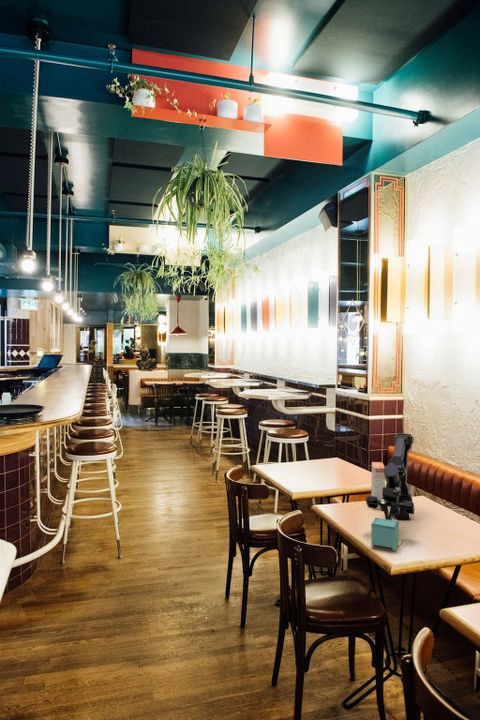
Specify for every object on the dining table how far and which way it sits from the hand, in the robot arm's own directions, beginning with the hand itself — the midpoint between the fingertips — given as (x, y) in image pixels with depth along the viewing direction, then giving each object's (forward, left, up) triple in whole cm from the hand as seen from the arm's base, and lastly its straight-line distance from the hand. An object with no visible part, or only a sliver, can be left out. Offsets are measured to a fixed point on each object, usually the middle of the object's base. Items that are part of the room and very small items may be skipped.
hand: (387, 523), depth 197 cm
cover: (+2, +4, -7) cm, 8 cm away
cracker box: (-10, -49, -8) cm, 51 cm away
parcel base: (-2, -3, -8) cm, 9 cm away
